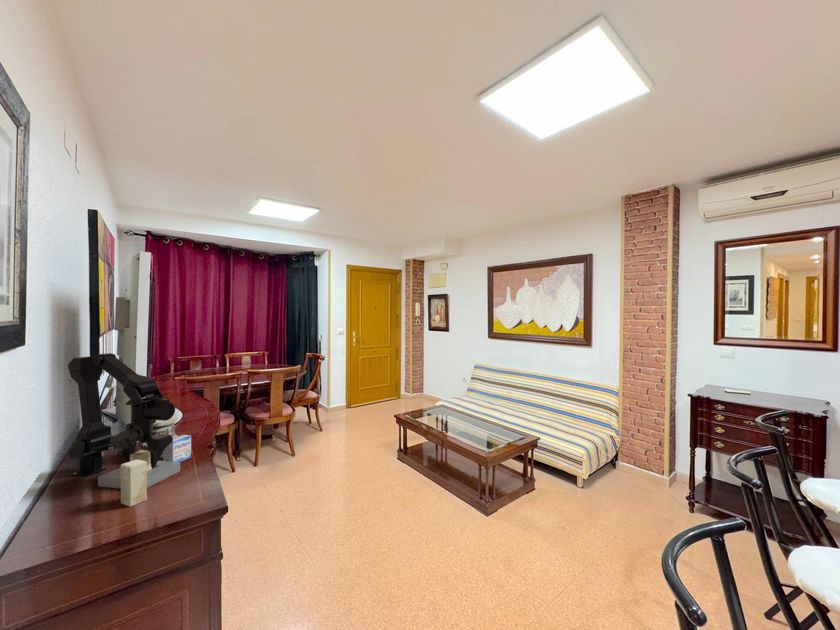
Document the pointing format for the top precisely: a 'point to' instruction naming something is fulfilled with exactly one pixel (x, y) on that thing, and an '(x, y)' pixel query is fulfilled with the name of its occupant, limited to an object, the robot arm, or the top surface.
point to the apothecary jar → (162, 430)
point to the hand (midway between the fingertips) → (141, 466)
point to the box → (133, 482)
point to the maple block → (142, 457)
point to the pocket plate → (153, 475)
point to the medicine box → (178, 449)
